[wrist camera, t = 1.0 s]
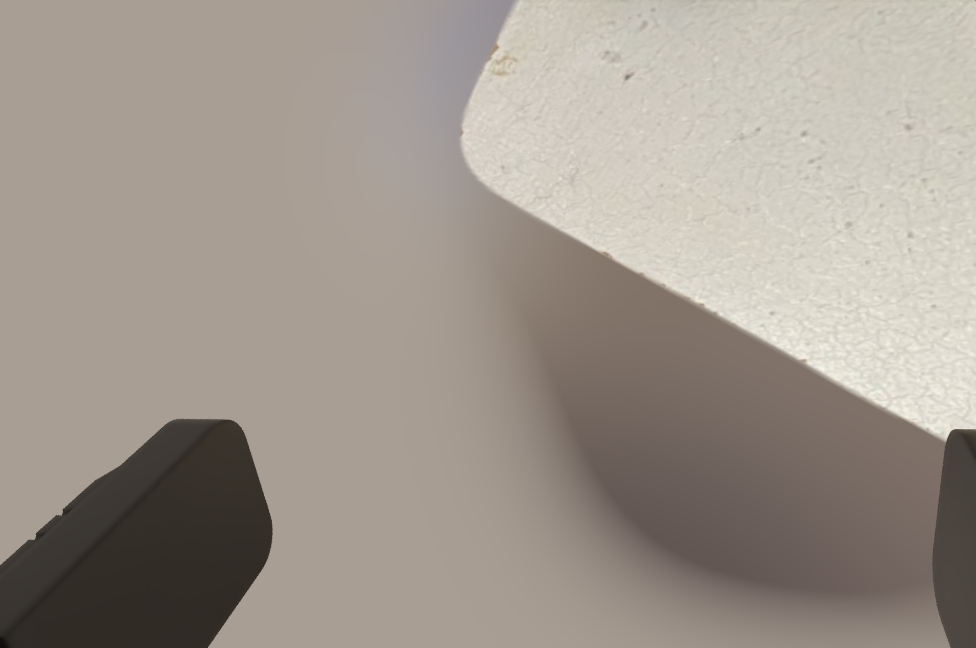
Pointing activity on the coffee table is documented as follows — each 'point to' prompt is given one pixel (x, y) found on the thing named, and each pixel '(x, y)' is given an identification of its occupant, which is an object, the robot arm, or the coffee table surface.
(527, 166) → the coffee table surface
